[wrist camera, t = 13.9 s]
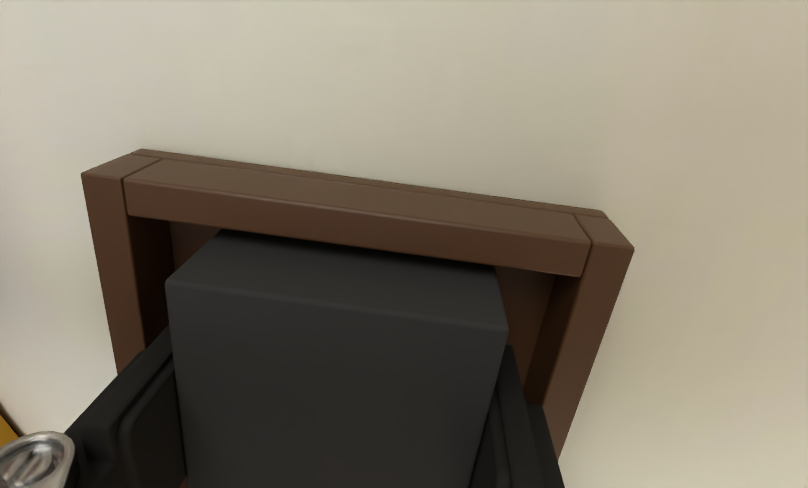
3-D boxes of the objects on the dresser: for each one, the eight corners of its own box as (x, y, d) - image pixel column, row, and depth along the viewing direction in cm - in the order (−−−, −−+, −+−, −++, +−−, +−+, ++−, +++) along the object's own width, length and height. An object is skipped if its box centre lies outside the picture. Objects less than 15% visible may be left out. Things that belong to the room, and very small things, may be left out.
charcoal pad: (493, 251, 11) (510, 329, 8) (446, 466, 14) (447, 576, 11) (232, 215, 11) (161, 280, 8) (241, 437, 14) (193, 539, 11)
